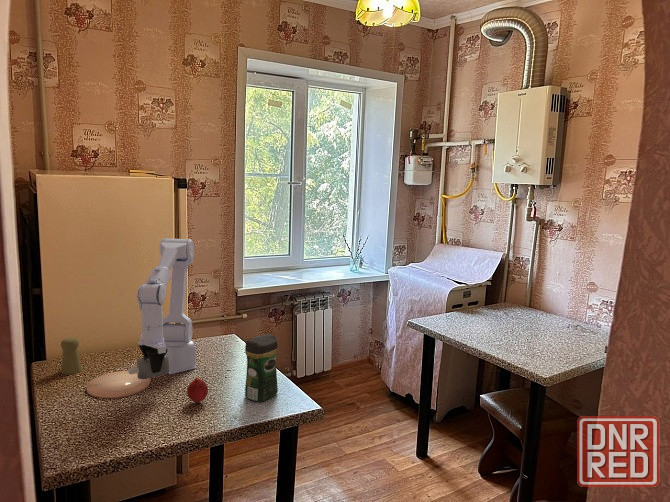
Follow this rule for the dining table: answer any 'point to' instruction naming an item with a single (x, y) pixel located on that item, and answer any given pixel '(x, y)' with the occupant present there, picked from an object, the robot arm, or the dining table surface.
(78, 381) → the dining table surface
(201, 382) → the onion
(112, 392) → the plate
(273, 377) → the coffee jar
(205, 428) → the dining table surface
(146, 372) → the connector
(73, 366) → the cork
